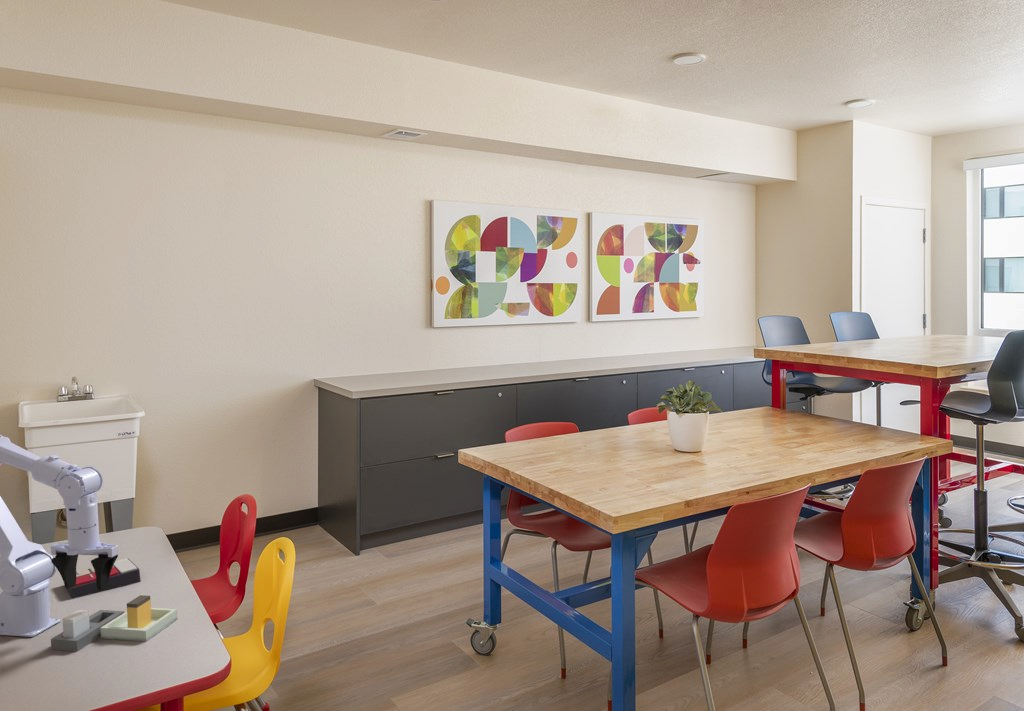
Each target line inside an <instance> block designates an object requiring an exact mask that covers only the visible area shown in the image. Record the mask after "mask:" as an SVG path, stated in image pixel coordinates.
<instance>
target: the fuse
mask: <svg viewBox="0 0 1024 711" xmlns="http://www.w3.org/2000/svg"><path fill="white" fill-rule="evenodd" d="M89 616H90V611H89V610H85V609H84V610H83V609H78V610H75V611H73V612H72V613H71V614H69V615H67V616H65V617H64V618H62V620H61V621H62V632H63V637H65V638H75V637H77V636H78V635H80V634H82V633H83V632H85V631H86V630H88V629H90V624H89Z"/></svg>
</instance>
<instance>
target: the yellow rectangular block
mask: <svg viewBox="0 0 1024 711" xmlns="http://www.w3.org/2000/svg"><path fill="white" fill-rule="evenodd" d="M151 608H152V605H151V595H141V594H140V595H139V596H136V597H135V598H133V599H132V600H130V601H128V602H127V603H126V611H127V620H128V628H139V629H142V628H144V627H145V626H147V625H148V624H150V623H151Z"/></svg>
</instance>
